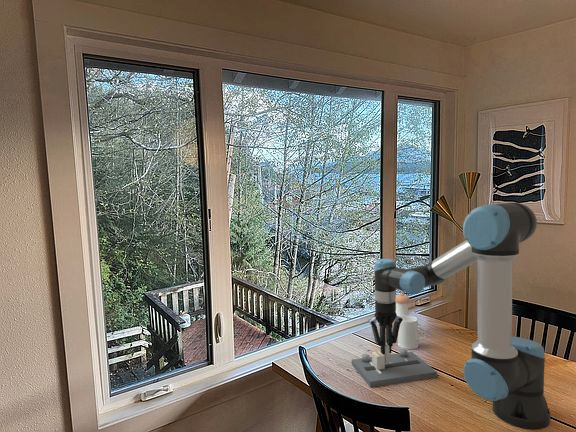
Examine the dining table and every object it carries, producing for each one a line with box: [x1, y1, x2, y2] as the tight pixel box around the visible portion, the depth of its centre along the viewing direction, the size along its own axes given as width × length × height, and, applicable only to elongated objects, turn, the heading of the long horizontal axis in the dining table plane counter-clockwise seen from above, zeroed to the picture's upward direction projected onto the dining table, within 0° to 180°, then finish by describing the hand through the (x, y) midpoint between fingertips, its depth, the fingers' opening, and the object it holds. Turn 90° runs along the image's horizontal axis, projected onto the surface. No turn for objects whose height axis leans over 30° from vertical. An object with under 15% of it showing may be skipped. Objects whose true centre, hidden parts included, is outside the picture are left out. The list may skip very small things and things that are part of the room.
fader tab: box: [371, 350, 385, 370], centre depth 150 cm, size 4×3×5 cm
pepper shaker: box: [395, 292, 411, 317], centre depth 186 cm, size 7×7×19 cm
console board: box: [351, 348, 438, 388], centre depth 151 cm, size 18×26×4 cm
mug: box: [397, 315, 427, 350], centre depth 172 cm, size 12×8×12 cm
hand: (386, 361), depth 151 cm, fingers closed
